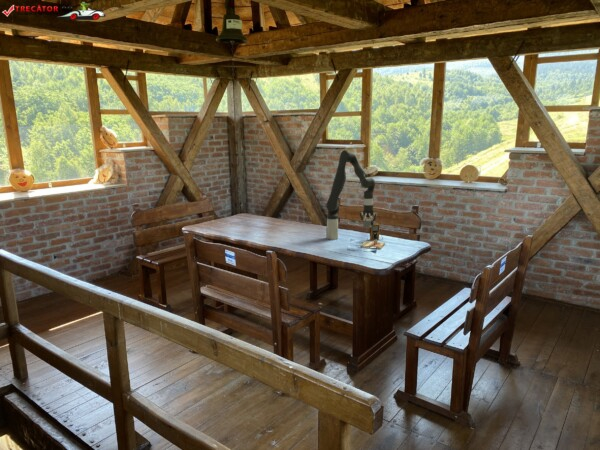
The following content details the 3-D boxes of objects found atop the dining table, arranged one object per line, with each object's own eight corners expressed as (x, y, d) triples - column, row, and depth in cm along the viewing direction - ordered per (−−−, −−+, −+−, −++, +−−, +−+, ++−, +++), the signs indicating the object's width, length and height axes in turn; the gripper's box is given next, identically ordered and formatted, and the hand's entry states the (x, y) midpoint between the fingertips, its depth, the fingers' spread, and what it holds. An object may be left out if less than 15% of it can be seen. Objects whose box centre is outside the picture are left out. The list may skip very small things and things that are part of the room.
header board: (360, 247, 346) (360, 241, 345) (365, 243, 360) (365, 236, 359) (380, 249, 340) (380, 242, 339) (385, 244, 354) (385, 238, 353)
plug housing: (363, 227, 344) (363, 221, 343) (367, 224, 354) (367, 218, 353) (369, 227, 343) (369, 221, 342) (373, 225, 352) (373, 218, 351)
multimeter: (369, 242, 362) (370, 218, 358) (365, 239, 371) (366, 216, 367) (386, 241, 364) (387, 217, 360) (382, 238, 374) (382, 215, 370)
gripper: (358, 204, 344) (358, 226, 348) (376, 205, 339) (376, 227, 342) (360, 203, 351) (360, 224, 354) (378, 203, 345) (378, 225, 349)
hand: (368, 225), depth 348 cm, fingers closed on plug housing, 4 cm apart
